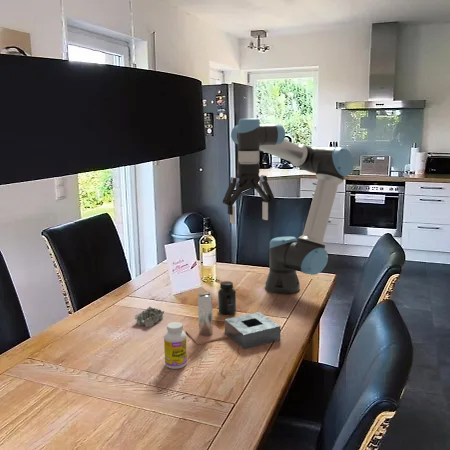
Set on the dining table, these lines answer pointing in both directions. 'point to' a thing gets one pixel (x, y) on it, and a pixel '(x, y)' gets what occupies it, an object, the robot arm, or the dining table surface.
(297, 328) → the dining table surface
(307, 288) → the dining table surface
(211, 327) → the steel plug
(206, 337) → the rubber pad
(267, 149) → the robot arm
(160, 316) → the grey lumpy block
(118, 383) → the dining table surface
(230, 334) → the bored block
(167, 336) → the supplement bottle
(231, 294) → the supplement bottle
